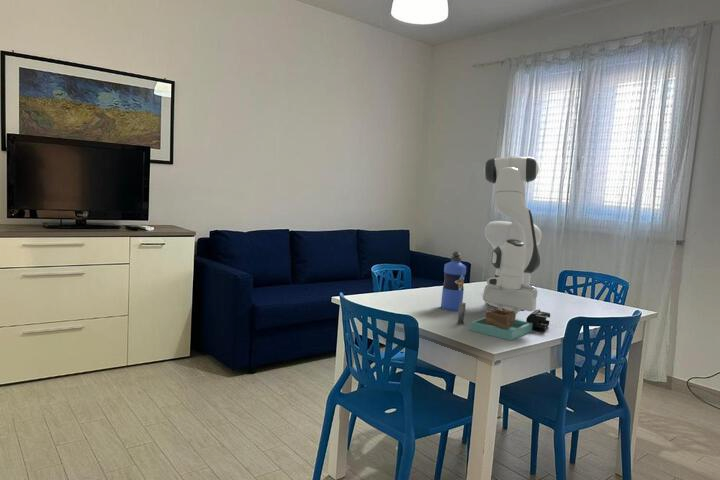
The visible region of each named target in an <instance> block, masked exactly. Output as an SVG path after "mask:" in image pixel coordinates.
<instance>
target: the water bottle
mask: <svg viewBox="0 0 720 480" xmlns="http://www.w3.org/2000/svg"><path fill="white" fill-rule="evenodd" d="M451 254H452V256H451V257H450V261H449V262H447V263H445V264H444V265H443V266H444V268H443V272H444V273H443V275H444V280H443V281H444V282H443V286H442V292H441V300H440V301H441V302H440V303H441V304H440V308H441V309H442V310H445V311H453V312H459V303H464V302H463V299H464V281H465V277H466V274H467V266H466V265H465V264H463V263H462V262H461V261H462V257H461V256H462V254H461V253H460V251H453V252H452V253H451Z"/></svg>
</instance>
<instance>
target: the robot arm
mask: <svg viewBox="0 0 720 480" xmlns="http://www.w3.org/2000/svg"><path fill="white" fill-rule="evenodd" d="M539 170H540V168H539V163H538V161H537V159H536V158H535V157H533V156H505V157H497V158H496V157H493V158H489V159H487V161H486V162H485V165H484V166H483V175H484V177H485V180H486V181H487V182H488V183H490V184H494V196H493V199H494V208H495V210H497V212H498V213H499V214H500V215H502V216H504V217H506V218H508V219H509V220H510V221H506V220H494V221H489V222H487V224H486V226H485V228H484V237H485V239H486V240H487V242H488V243H489V244H490V245H491V247H492V248H493V250H492V254H491V260H490V261H491V262H490V263H491V265H492V266H493V267H494V268H495V274H494V276H493V277H490V278H487V279H486V283H487V284H486V285H485V287H484V290H483V293H482V300H483V301H484V302H485V303H487V304H488V305H490V306H492V307H494V308H497V310H501V311H502V310H505V309H510V310H514V313H515V319H516V317H517V315H518V313H519V312H520V311H527V312H531V313H532V312H534V311H535V310H537V298H538V290H537V288H536V287H535V286H533V285H532V286H531V285H530V286H527V285H523V281H524V273H531V274H532V273H533V272H535V271H537V270H538V269H539V267H540V265H541V257H540V252H539V249H538V245H540V243H541V241H542V235H543V234H542V231H541V228H539V226H537V225H536V224H535V223H534V219H533V218H534V217H533V215H532V212H531V209H530V208H529V207H527V205H526V203H527V202H526V184H525V183H527V184H528V183H529V182H533V181H534V180H536V179H537V176H538V174H539Z"/></svg>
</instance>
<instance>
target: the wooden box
mask: <svg viewBox="0 0 720 480" xmlns="http://www.w3.org/2000/svg"><path fill="white" fill-rule="evenodd" d="M514 312H515V311H514V310H512V309H502V311H501V310H498V308H497V309H496V308H495V309H491V310H488V311H486V313H485V317H486V320H485V324H488V325H492V326H496V327H500V328H504V329H506V328H509V327H511V326H514V321H515V319H516V318H515V313H514Z"/></svg>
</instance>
